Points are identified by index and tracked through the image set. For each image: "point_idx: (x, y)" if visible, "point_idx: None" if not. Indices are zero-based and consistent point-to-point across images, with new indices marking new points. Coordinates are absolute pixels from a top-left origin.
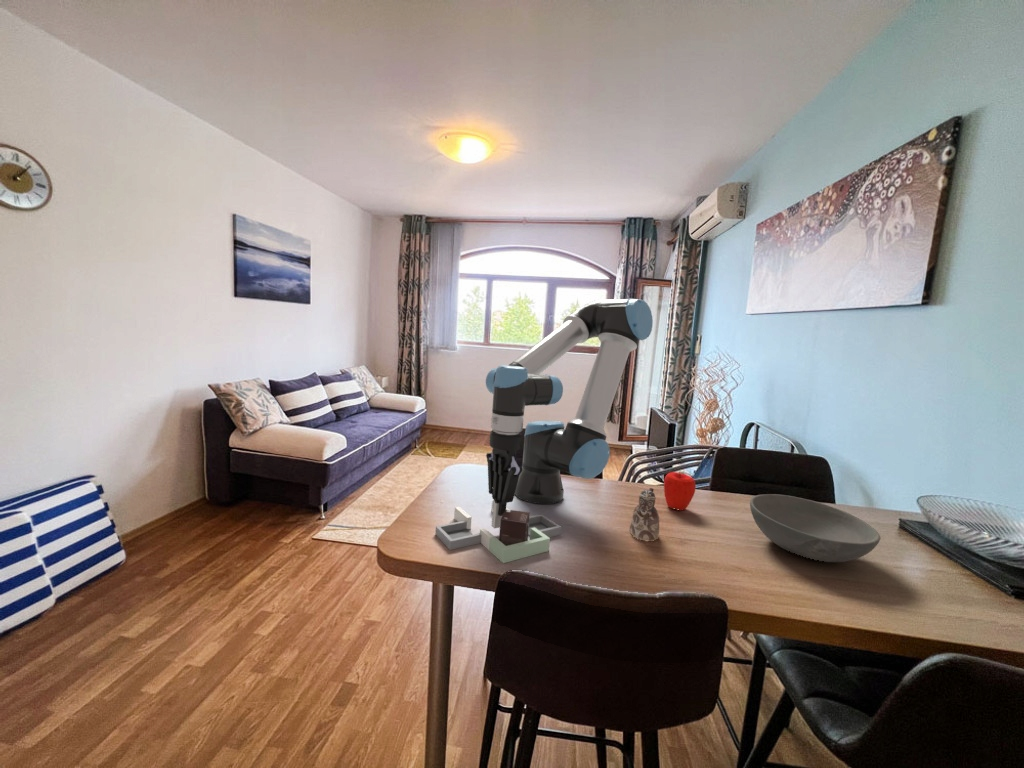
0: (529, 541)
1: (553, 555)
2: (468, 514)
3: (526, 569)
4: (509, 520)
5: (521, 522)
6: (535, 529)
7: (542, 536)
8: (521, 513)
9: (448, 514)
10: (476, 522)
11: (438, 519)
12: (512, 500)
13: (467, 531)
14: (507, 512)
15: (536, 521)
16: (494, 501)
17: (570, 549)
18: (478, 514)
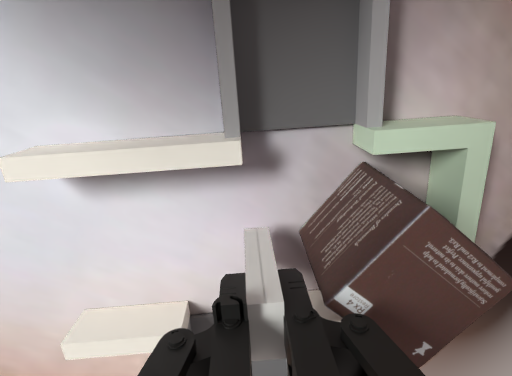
0: (465, 221)
1: (488, 118)
2: (152, 337)
3: (495, 249)
4: (448, 341)
5: (497, 301)
6: (393, 138)
7: (463, 146)
8: (416, 256)
9: (49, 330)
10: (141, 265)
11: (87, 367)
12: (375, 325)
13: (212, 321)
14: (368, 315)
15: (231, 18)
16: (260, 357)
17: (498, 15)
18: (67, 231)
